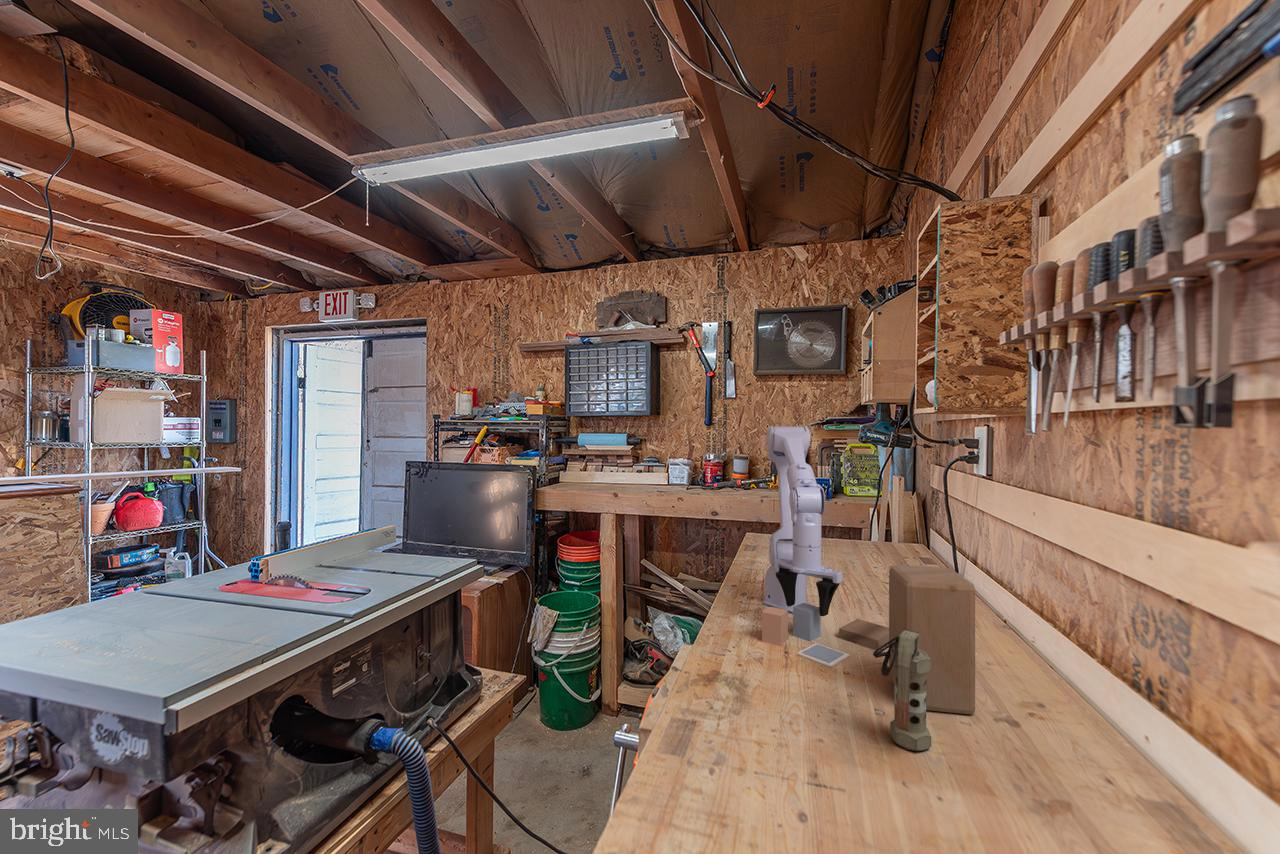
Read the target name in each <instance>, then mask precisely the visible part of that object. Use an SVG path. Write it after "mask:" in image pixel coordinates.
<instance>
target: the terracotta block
mask: <svg viewBox="0 0 1280 854" xmlns="http://www.w3.org/2000/svg"><path fill="white" fill-rule="evenodd" d="M788 615H789V611H788V610H784V609H779V608H776V607H773V606H768V607H766V608H765V609H764V610H763V611H762V612H761V642H762V643H766V644H771V645H775V646H778V647H782V646H784V644H785V643H786V642H787V641H788V640H789V616H788Z"/></svg>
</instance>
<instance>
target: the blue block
mask: <svg viewBox="0 0 1280 854" xmlns="http://www.w3.org/2000/svg"><path fill="white" fill-rule="evenodd" d="M821 617H822V616H820V613H819V606H817V605H814V606H813V605H810V604H807V603H801V604H799V605H796V606H794V607H793V613H792V636H794V637H795V638H799V639H801V640H805V641H807V642H812V641H813V642H814V641H815V640H816V638H817V639H818V638H821V631H822V630H821V627H822V622H821V621H822V620H821V619H822V618H821Z"/></svg>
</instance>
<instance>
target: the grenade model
mask: <svg viewBox="0 0 1280 854" xmlns="http://www.w3.org/2000/svg"><path fill="white" fill-rule="evenodd" d="M919 635H920V634H919V633H918V632H915V631H911V630H907V631H906V630H904V631H903V632H902V633H901V635H900V636H898V637H897V636H896V637H895V638H893V639H891V640H890V641H888V642H887V643H886V644H884V645H883V646H881V647H880V648H878V649H877V650H874V651H873V653H872V655H873V657H874V658H875V659H878V658H882V657H884V659H883V662H882V663H881V664H882V665H881V669H880V670H881V671H880V672H881V675H882V676H884V677H887V676H889V673H890V671H891V669H892V667H893V666H894V685H893V687H894V688H893V689H894V697H893V698H894V704H893V705H894V712H893V714H894V715H893V717H894V718H893V720H892V721H890V722H889V724H890V725H889V728H890V730H889V732H890V736H891V738H892V740H893V742H895V744H897V745H898V746H900V747H901V748H903V749H905V750H908V751H912V752H922V751H925V750H928V749H930V748H931V747H932V736H931V733H930V731H929V729H928V728H927V710H926V673H927V672H929V671H930V670H931V659H930V657H929V655H928V654H927V653H926V652H924V651H922V650H919V649H918V648H917V644H918V637H919ZM894 640H896V641H895V642H893V641H894ZM891 642H892V643H891ZM890 643H891V644H890ZM888 644H889V645H888ZM893 645H894V647H893V648H892V646H893ZM885 646H886V647H885ZM891 648H892V649H891ZM885 650H887V651H885ZM889 658H890V659H891V665H890V667H889Z"/></svg>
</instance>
